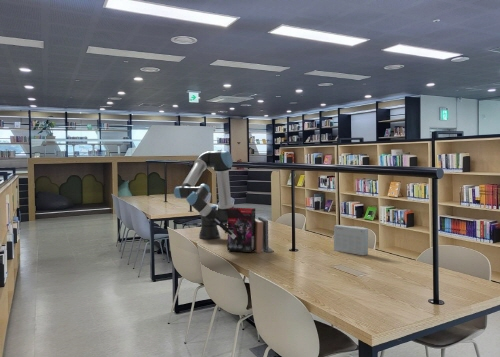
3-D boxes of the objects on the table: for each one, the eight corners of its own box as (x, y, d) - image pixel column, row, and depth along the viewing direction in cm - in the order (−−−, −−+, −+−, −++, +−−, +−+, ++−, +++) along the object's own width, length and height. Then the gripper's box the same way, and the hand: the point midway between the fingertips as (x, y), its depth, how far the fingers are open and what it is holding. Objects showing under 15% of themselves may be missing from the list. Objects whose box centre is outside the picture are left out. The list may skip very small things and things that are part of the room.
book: (250, 247, 259) (251, 219, 258) (256, 247, 260) (257, 219, 259) (256, 252, 247) (257, 222, 246) (262, 252, 248) (263, 222, 247)
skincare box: (368, 254, 240) (368, 228, 239) (364, 256, 236) (364, 229, 235) (337, 248, 254) (337, 224, 253) (333, 250, 250) (333, 225, 249)
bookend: (258, 246, 262) (258, 216, 261) (266, 246, 264) (265, 216, 262) (266, 252, 247) (265, 220, 246) (274, 252, 248) (273, 220, 247)
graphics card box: (226, 250, 251) (227, 207, 252) (230, 249, 258) (231, 207, 258) (251, 252, 245) (252, 208, 245) (255, 251, 251) (256, 208, 252)
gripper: (202, 215, 249) (228, 240, 254) (205, 218, 237) (233, 244, 242) (210, 206, 250) (236, 231, 256) (213, 209, 238) (241, 235, 243)
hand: (234, 237), depth 249 cm, fingers closed
